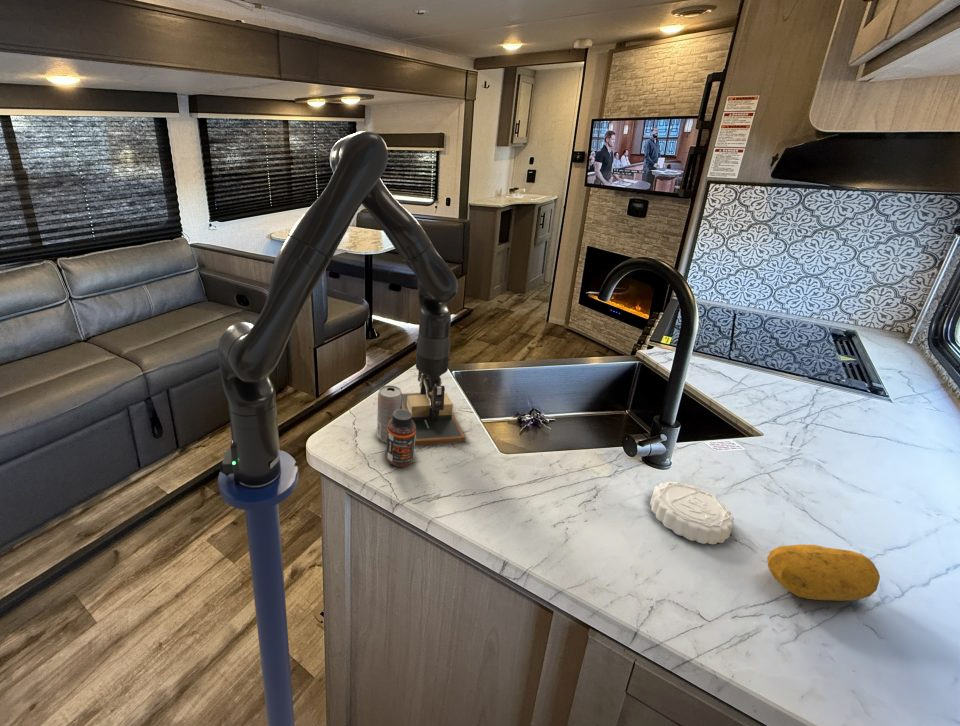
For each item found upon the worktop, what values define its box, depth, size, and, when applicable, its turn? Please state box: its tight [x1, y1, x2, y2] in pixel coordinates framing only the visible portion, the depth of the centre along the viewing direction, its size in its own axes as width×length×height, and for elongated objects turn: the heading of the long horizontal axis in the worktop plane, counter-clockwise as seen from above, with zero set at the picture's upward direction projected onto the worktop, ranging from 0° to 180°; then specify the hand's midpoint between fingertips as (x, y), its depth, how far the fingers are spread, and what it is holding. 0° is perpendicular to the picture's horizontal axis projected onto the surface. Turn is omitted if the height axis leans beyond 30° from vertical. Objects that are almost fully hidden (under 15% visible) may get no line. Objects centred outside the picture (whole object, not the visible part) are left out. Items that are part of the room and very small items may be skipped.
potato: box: [766, 544, 881, 602], centre depth 69 cm, size 7×14×7 cm, turn 85°
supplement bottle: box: [385, 409, 416, 468], centre depth 96 cm, size 6×6×11 cm
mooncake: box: [649, 481, 735, 545], centre depth 83 cm, size 12×12×4 cm
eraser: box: [407, 392, 454, 421], centre depth 111 cm, size 10×5×4 cm, turn 97°
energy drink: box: [376, 384, 403, 444], centre depth 104 cm, size 5×5×12 cm
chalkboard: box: [402, 392, 467, 447], centre depth 112 cm, size 12×20×1 cm, turn 7°
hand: (428, 410), depth 112 cm, fingers open, 8 cm apart
